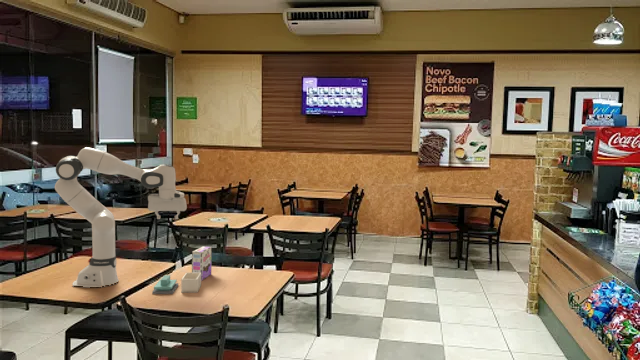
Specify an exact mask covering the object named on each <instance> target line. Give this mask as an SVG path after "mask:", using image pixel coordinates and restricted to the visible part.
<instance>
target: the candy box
mask: <svg viewBox="0 0 640 360" xmlns="http://www.w3.org/2000/svg"><path fill="white" fill-rule="evenodd" d="M191 273H201V282H202V281H204V280H205V279H206V278H208V277H210V276H211V275H212V246H201V247H199V248H197V249H195V250H192V251H191Z"/></svg>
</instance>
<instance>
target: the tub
mask: <svg viewBox="0 0 640 360" xmlns="http://www.w3.org/2000/svg"><path fill="white" fill-rule="evenodd" d="M180 283H181V285H180V286H181V288H180V289H181V293H182V294H183V293H184V294H185V293H187V294H188V293H189V294H192V293H194V294H197V293H198V292H199V290H200V288H201V287H202V281H201V273H192V272H185V274H184V275H183V276H182V277H181V282H180Z"/></svg>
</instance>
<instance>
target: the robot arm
mask: <svg viewBox="0 0 640 360" xmlns="http://www.w3.org/2000/svg"><path fill="white" fill-rule="evenodd" d="M83 170H91V171H94V172H97V173H101V174H103V175H110V176H111V175H122V176H127V177H129V178H131V179H136V180H138V181H139V182H140V183H141V185H142V186H143V187H144V188H146V189H154V188H158V193H150V194H148V196H147V201H148V205H147V209H148V211H150V212H151V211H152V212H154V214H155V216H156V219H157V220H160V219H161V215H160V214H159V212H176V213H177V214H176V215H174V219H175V220H179V215H180V214H181V212H185V211H187V207H188V206H187V199H186V197H185V193H184V192H181V191H178V190H177V187H176V181H177V179H176V168H175V167H174V166H172V165H170V164H166V163H164V164H163V163H161V164H159V165H158V166H157V167H154V168H140V167H138V166H135V165H131V164H129V163H126V162H125V161H123V160H122V159H120V158H118V157H117V156H115V155H113V154H111V153H109V152H106V151H104V150H101V149H96V148H92V147H87V146H86V147H84V148H82V149H80V150H79V152H78V154H77V155H71V154H70V155H67V156H64V157H62V158H61V159H60V160H59V161H58V162H57V164H56V166H55V173H56V175H57V177H58V178H59V179H57V180H56V182H55V184H54V190H55V192H56V193H57V194H58V195H59V196H60V198H61V199H62V200H63V201H64V202H65V203H66V204H67V205H68V206H69V207H71V208H72V209H73V210H74V211H75V212H76V213H77V214H78V215H79V216H82V217H83V218H84V219H85V220H87V221H88V222H89V223H90V224H91V241H92V243H91V244H92V256H90V258H89V259H88V261H87V263H88V265H87V266H85V267H84V268H83V269H81V270H80V271H79V272H78V274H77V278H76V280H74V281H73V282H72V285H73V286H72V287H74V286H83V287H82V288H90V287H101V286H104V287H106V286H105V285H109V286H111V285H110V284H113V285H115V284H114V283H116V282H118V281H120V279H119V278H118V277H119V276H118V273H117V256H116V219H115V216H114V213H113V212H112V211H111V210H109V208H107V207H106V206H105V205H103V204H102V203H101V202H100V201H99V200H98V199H96V198H95V197H94V196H93V195H92V194H91V193H90V192H89V191H88V190H87V189H86V188H85V187H83V185H81V184H80V182H79V181H78V179H77V178H78V177H79V175H80V174H81V172H83ZM118 283H119V282H118ZM116 284H117V283H116ZM101 288H102V287H101Z"/></svg>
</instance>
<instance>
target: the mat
mask: <svg viewBox="0 0 640 360" xmlns="http://www.w3.org/2000/svg"><path fill="white" fill-rule="evenodd" d="M178 286H179V283H177V282H176V283H175V284H174V286H173V287H172V289H170V290H160V291H157V289H154V288H153V290H152V292H151V294H152V295H173V294H174V293H175V292H176V290H177V288H178Z"/></svg>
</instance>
